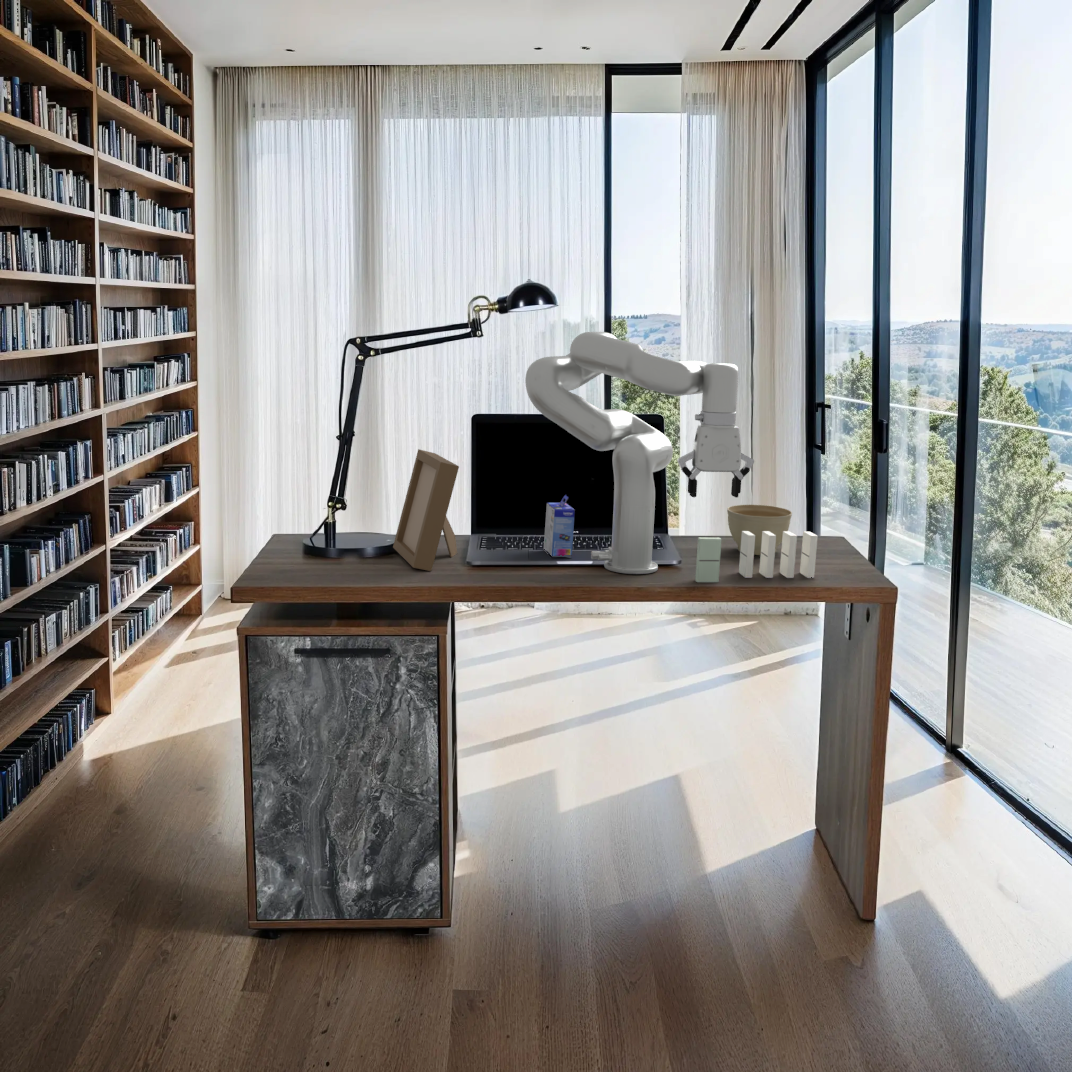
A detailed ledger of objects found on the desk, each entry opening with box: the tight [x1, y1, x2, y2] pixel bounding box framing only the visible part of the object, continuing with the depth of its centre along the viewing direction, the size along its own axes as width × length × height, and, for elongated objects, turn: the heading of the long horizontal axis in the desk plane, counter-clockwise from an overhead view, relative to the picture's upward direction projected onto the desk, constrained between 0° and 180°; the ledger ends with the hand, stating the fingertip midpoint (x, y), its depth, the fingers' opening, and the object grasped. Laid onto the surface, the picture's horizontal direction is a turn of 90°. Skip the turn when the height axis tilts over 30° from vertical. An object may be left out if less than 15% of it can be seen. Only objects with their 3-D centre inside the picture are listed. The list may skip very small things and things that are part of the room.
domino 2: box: [738, 531, 755, 579], centre depth 264 cm, size 2×5×10 cm, turn 8°
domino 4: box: [779, 530, 798, 579], centre depth 266 cm, size 2×5×10 cm, turn 8°
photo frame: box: [392, 448, 460, 572], centre depth 267 cm, size 15×22×25 cm
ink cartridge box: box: [543, 494, 576, 556], centre depth 279 cm, size 10×6×14 cm, turn 11°
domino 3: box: [758, 531, 776, 579], centre depth 265 cm, size 2×5×10 cm, turn 8°
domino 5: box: [799, 530, 819, 579], centre depth 266 cm, size 2×5×10 cm, turn 8°
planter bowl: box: [727, 504, 793, 556], centre depth 290 cm, size 16×16×11 cm
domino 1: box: [694, 536, 722, 583], centre depth 257 cm, size 2×5×10 cm, turn 98°
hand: (713, 496), depth 254 cm, fingers open, 9 cm apart
